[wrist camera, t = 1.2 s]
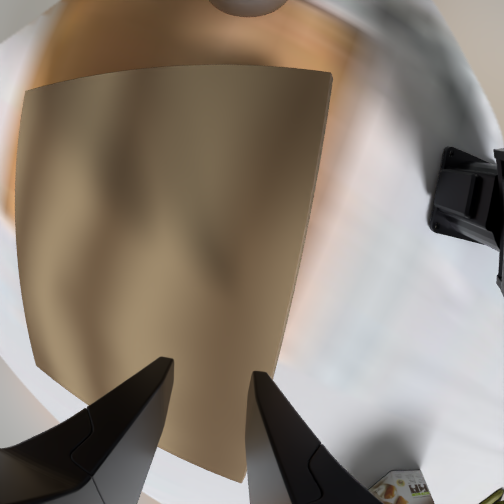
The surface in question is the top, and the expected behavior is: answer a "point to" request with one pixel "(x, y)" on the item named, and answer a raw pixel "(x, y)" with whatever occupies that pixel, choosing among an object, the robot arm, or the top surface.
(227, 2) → the grey domed cylinder
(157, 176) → the lid
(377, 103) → the top surface
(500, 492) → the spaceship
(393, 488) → the coffee box
